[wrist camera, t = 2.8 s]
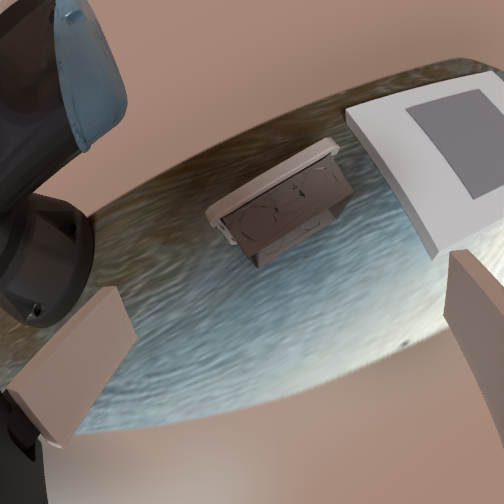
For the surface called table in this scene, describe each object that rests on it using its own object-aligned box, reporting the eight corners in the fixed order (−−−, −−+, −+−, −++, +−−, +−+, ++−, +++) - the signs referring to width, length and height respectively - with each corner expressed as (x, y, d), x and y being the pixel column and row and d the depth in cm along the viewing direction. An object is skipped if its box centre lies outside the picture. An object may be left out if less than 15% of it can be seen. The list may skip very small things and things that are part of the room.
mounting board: (432, 260, 23) (439, 250, 21) (345, 122, 30) (345, 107, 28) (569, 181, 21) (577, 171, 19) (488, 82, 28) (492, 69, 26)
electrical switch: (319, 183, 28) (316, 116, 19) (354, 229, 26) (368, 172, 17) (228, 239, 28) (189, 190, 19) (258, 290, 26) (228, 259, 18)
